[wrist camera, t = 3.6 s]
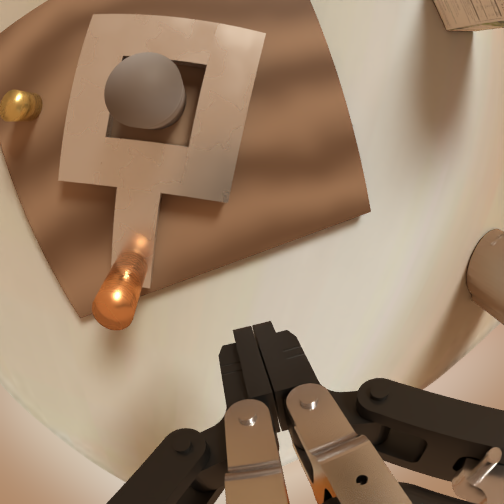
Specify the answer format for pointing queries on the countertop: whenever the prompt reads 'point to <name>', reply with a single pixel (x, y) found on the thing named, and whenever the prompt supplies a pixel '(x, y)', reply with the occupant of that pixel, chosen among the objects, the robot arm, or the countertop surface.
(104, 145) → the square frame with handle
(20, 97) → the gold rounded piece
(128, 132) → the post board
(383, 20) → the countertop surface
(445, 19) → the syrup box
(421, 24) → the countertop surface
